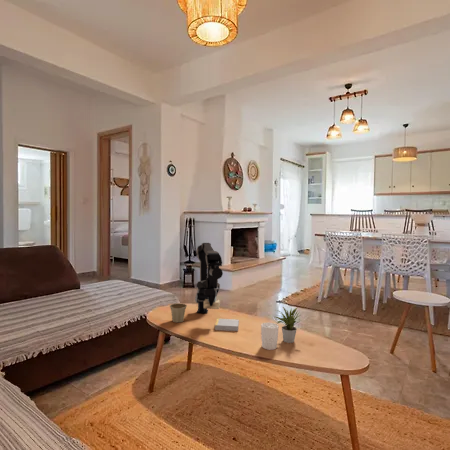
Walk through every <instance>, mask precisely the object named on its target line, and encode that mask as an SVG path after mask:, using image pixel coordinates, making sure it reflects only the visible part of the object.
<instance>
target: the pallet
mask: <svg viewBox="0 0 450 450" xmlns="http://www.w3.org/2000/svg"><path fill="white" fill-rule="evenodd" d="M220 303H221V300H220V299H216V301H215V302H213V305H212V306H210V304H209V302H208V299H205V301H204V308H206V309H207V310H209V309H210V310H219V309H220V305H221V304H220Z"/></svg>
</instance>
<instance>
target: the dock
mask: <svg viewBox="0 0 450 450" xmlns="http://www.w3.org/2000/svg"><path fill="white" fill-rule="evenodd" d="M239 325H240V319H234V318H231V319H230V318H216V322H215V323H214V330H215V331H225V332H226V331H227V332H228V331H229V332H238V331H239Z"/></svg>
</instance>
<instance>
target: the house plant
mask: <svg viewBox="0 0 450 450" xmlns="http://www.w3.org/2000/svg"><path fill="white" fill-rule="evenodd" d="M282 309H283V311H284V313H283V312H282V311H280V310H277V309H275V311H276V312H278V313H280V314H281V316H282V317H279V316H274V318H275V319H277V321H276V324H279V323H282V324H283V326H281V331H282V332H281V334H282V339H283V342H284V343H288V344H292V343H295V339H296V335H297V331H298V330H297V329H298V328H297V326H295V324H297V323H299V321H296V320H297V319H298V317H300V316H301V314H300V315H299V313H300V312H299V310H297V309H298V307H296V308H294V309H293V310H292V308H291V307H290V310H287V309H286V308H285V307H284V306H282Z"/></svg>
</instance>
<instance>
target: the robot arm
mask: <svg viewBox="0 0 450 450" xmlns="http://www.w3.org/2000/svg"><path fill="white" fill-rule="evenodd" d="M195 254H196V255H197V256H196V257H197V260H198V261H199V281H197V282H196V288H197V289H196V291H197V292H196V293H195V298H194V299H195V300H194V301H195V302H196V303H197V310H196V313H197V314H208V313H209V309H206V308H204V301H205V299H209V304H210V306H212V305H213V302H214V300H215V297H216V298H217V296H218V293H219V292H220V289H221V284H220V283H219V279H221V278H222V276H223V274H224V273H223V270H222V269H221V268H220V267H222V265H223V260H222V256H221V254H220V252H218V251H216V250H215V249H214V248H213V247H212V244H211V242H202V243H201V244H200V245H198V246H197V248H196V253H195Z"/></svg>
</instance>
